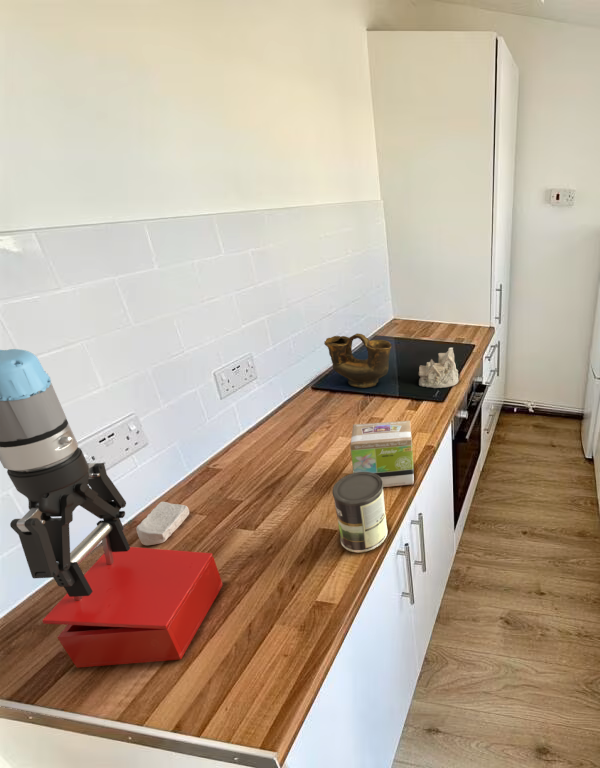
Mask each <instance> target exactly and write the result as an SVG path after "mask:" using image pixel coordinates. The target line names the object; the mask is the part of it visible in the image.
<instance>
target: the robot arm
mask: <svg viewBox="0 0 600 768" xmlns="http://www.w3.org/2000/svg"><path fill="white" fill-rule="evenodd" d="M0 463H1V465H2V466H3V469H6V473H7V475H8V477H9V478H10V481H11V483H12V484H13V486H14V488H15V490H16V491H17V492H18V493H20V495H23V497H25V498H27V501H28V511H27V512H26V513H25V514H24V515H23V517H20V518H13V519H12V520H11V521H10V524H9V526H10V528H11V529H12V530H13V531H14V532H15V533H16V534H17V535H18V538H19V540H20V544H21V547H22V550H23V553H24V556H25V559H26V563H27V566H28V568H29V572H30V575H31V577H32V579H51V578H53V579H54V581H55V583H56V585H57V586H58V587H59V588H64V590H65V592H66V594H67V593H68V595H69V597H76V596H89V595H90V594H91V593H92V592H93V591H92V589H91V587H90V586H89V584H88V582H87V580H86V578H85V576H84V574H85V573H84V572H83V570H82V569H81V567H80V564H79V565H78V563H77V562H70V553H71V538H70V536H71V535H70V534H71V533H70V523H72V522H73V520H74V516H73V515H74V514H73V513H74V512H75V510H76V509H77V507H79V506H80V507H81V508H83V509H84V510H86V511H88V512H89V513H91V515H94V516H95V517H97V518H98V519H100V520H98V522H96V527H97V526H98V525H99V524H100V523H103V522H106V523H109V524H111V525H112V527H113V529H112V530H111V531H110V532H109V538H110V544H111V549H112V552H125V551H128V550H129V549H130V547H131V546H130V544H129V541H128V540H127V538H126V535H125V533H124V525H123V524H122V521H121V519H123V518H124V517H125V516H126V511H125V510H121V509H124V508H125V507H126V506H127V501H126V500H125V498H124V497H123V496H122V494H121V493H120V491H119V490H118V488H117V486H116V485H115V484H114V482H113V481H112V479H111V478H110V477H109V475H108V474H107V470H106V465H105V464H104V463H103V462H89V463H88V461H87V458H86V457H85V455H84V452H83V450H82V448H80V447H79V442H78V441H77V439H76V436H75V434H74V432H73V430H72V428H71V426H70V424H69V421H68V418H67V416H66V413H65V411H64V409H63V407H62V404H61V402H60V400H59V398H58V395H57V393H56V390H55V388H54V386H53V383H52V379H51V376H49V373H47V372H46V370H45V369H44V367H43V365H42V363H41V362H40V360H39V358H38V356H37V355H36V354H34V353H33V352H31V351H29V350H25V349H19V348H11V349H0Z"/></svg>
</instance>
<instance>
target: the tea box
mask: <svg viewBox="0 0 600 768" xmlns="http://www.w3.org/2000/svg"><path fill="white" fill-rule="evenodd" d="M411 423H412V422H411V420H398V421H397V420H396V421H384V422H368V423H367V422H366V423H354V424H352V431H351V438H350V445H349V446H350V455H351V465H352V473H357V472H370V473H374V474H377V475H378V476H380V477H381V479H382V480H383V488H386V487H387V488H388V487H389V488H390V487H397V486H411V485H414V482H415V481H414V479H415V477H414V473H415V472H414V453H413V451H414V449H413V435H412V426H411V425H412V424H411Z"/></svg>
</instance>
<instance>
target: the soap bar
mask: <svg viewBox="0 0 600 768" xmlns="http://www.w3.org/2000/svg"><path fill="white" fill-rule="evenodd" d="M189 515H190V508H189V507H188V506H187V505H185V504H179V503H170V502H167V501H161V502H159V503H158V504H157V505H156V506H155V507H154V508H153V509H152V510H151V512H149V513H148V514H147V515H146V517H145V518H144V519H142V521H141V522H140V523H139V524H138V525H137V526H136V528H135V530H136V534H137V536H138V537H137V538H138V539H139V541H140V543H141V544H142V545H143V546H154V545H158V544H159V545H160V544H162V543H165V542H166V541H168V538H170V537H171V536H172V535H173V533H174V532H175V531H176V530H177V529H178V528H179V527H180V526H181V525H182V524H183V522H184V521H185V520H186V519H187V518H188V517H189Z"/></svg>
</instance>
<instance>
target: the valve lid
mask: <svg viewBox="0 0 600 768" xmlns="http://www.w3.org/2000/svg"><path fill="white" fill-rule="evenodd" d="M112 529H113V527H112V525H111V524H109V523H106V522H103V523H100V524H99V525H98V526H97V525H96V527H95V528H94V529H93V530H91V532H90V533H89V534H88V535H87V536H85V538H83V540H81V542H79V544H77V546H76V547H74V548H73V549H72V551H70V562H77V563H78V565H79V566H80V564H81V563H82V562H83V561H84V560H85V559H86V558H87V557H88V556H89V555H90V554H91V553H92V552H93V550H95V548H96V547H97V546H98V545H99V544H100V543H101V542H102V547H103V554H102V555H101V556H100V557H99V558H98V559H97V560H96V561H95V563H94V564H93V565H92V566H91V567H90V568H89V569H88V570H87V571H86V572H85V573H83V574H84V576H85V578H86V580H87V582H88V584H89V586H90V587H91V589H92V591H93V592H92V593H91V594H90V595H89V596H76V597H69V595H68V593H67V592H66V594H65V595H64V596H63V597H62V598H61V599H60V600H59V601H58V602H57V604H55V606H53V608H52V609H51V610H50V611H49V612H48V613H47V614H46V616H44V617H43V619H42V624H43V625H46V624H47V625H66V626H67V625H86V626H108V627H131V628H153V629H167V627H168V626H169V624H170V623H171V621H172V619H173V618H174V616H175V615H176V613H177V612H178V610H179V608H180V607H181V605H182V604H183V602H184V600H185V599H186V597H187V596H188V594H189V593H190V591H191V589H192V588H193V586H194V585H195V583H196V581H197V580H198V578H199V577H200V575H201V574H202V572H203V570H204V569H205V567H206V566H207V564H208V563H209V561H210V559H211V558H212V557H213V553H212V552H201V551H187V550H175V549H164V548H163V549H162V548H149V547H137V546H130V549H129V550H128V551H125V552H112V549H111V544H110V538H109V532H110V531H111V530H112Z"/></svg>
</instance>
